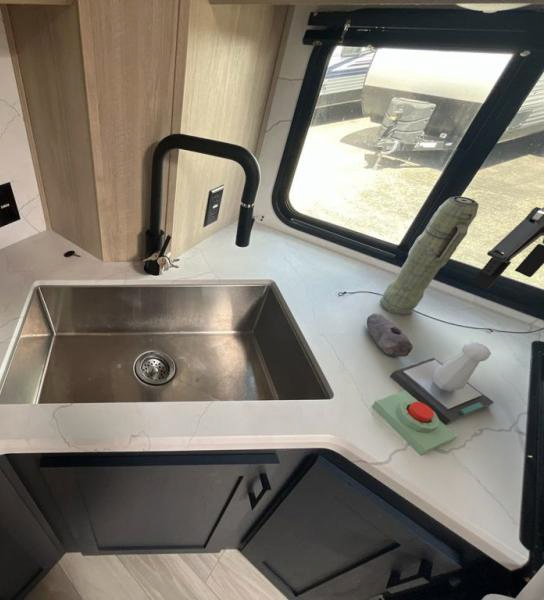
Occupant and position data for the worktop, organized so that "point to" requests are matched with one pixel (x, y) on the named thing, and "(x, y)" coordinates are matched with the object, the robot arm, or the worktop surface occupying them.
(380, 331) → the perforated stone tool
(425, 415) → the tare button
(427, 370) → the scale pan
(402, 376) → the scale base
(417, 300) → the thermos
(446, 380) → the salt shaker
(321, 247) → the worktop surface
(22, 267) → the worktop surface
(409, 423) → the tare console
